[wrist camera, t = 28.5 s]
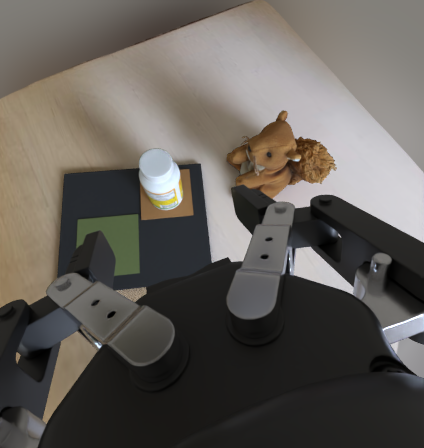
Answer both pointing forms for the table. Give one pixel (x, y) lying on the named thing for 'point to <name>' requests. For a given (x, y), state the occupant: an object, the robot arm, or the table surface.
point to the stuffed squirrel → (279, 159)
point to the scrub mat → (136, 225)
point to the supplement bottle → (160, 179)
